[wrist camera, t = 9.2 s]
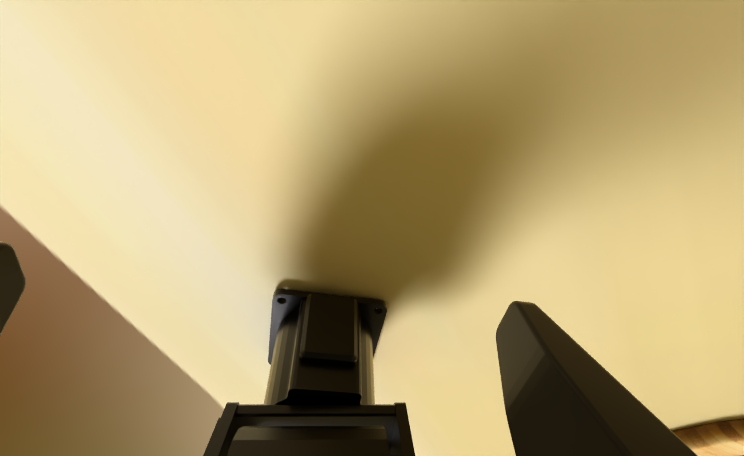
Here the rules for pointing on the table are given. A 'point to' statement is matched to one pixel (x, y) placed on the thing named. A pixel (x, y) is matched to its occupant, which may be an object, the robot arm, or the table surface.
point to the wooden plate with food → (715, 438)
